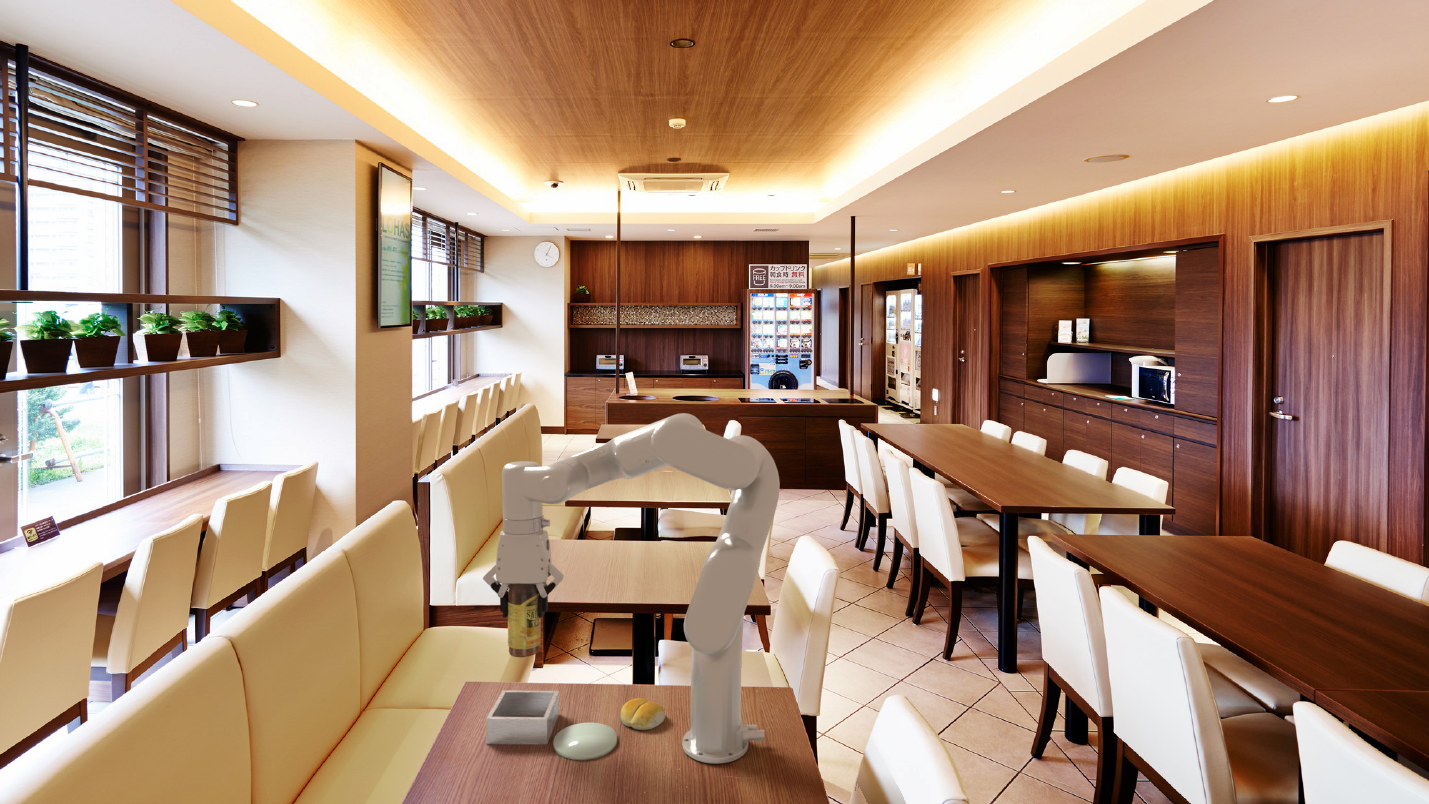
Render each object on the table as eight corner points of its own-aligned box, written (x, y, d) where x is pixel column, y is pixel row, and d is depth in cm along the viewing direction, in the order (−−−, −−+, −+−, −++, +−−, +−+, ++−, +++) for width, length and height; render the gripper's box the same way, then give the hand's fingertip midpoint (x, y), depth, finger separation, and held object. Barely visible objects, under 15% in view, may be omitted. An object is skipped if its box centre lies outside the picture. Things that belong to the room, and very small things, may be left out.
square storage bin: (559, 714, 153) (559, 690, 152) (547, 744, 141) (546, 719, 141) (502, 713, 152) (502, 690, 152) (486, 744, 141) (485, 718, 140)
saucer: (620, 726, 148) (620, 722, 148) (612, 760, 136) (612, 756, 136) (560, 726, 148) (560, 722, 148) (547, 759, 136) (547, 755, 136)
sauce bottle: (532, 660, 142) (530, 559, 140) (502, 657, 143) (500, 557, 141) (546, 646, 148) (545, 549, 146) (517, 644, 149) (516, 548, 148)
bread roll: (637, 706, 157) (638, 688, 156) (670, 719, 152) (671, 700, 151) (611, 722, 150) (611, 703, 150) (644, 736, 145) (644, 716, 145)
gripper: (571, 521, 147) (571, 608, 149) (484, 520, 147) (485, 608, 148) (563, 530, 140) (564, 622, 141) (472, 530, 140) (474, 622, 141)
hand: (524, 614), depth 145 cm, fingers closed on sauce bottle, 6 cm apart
